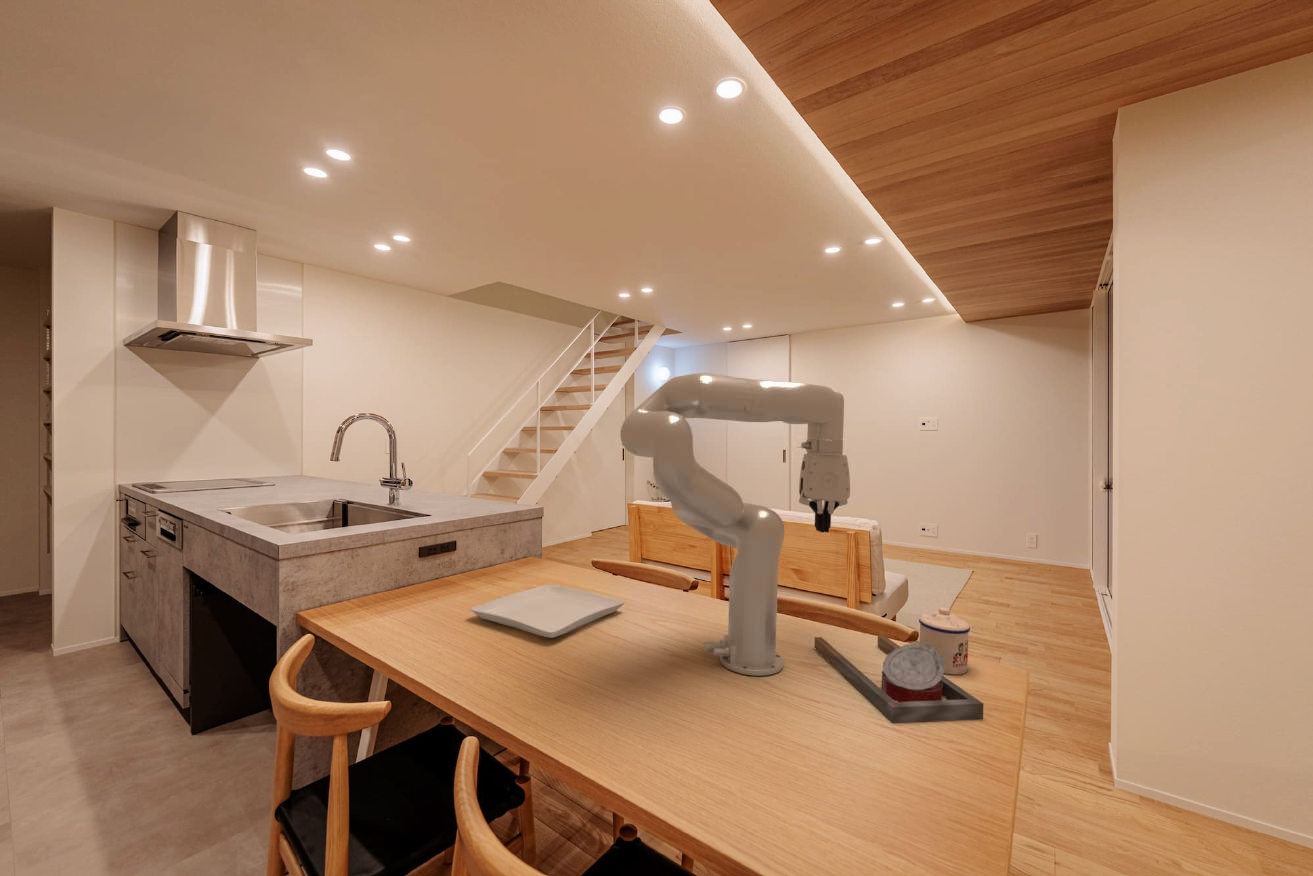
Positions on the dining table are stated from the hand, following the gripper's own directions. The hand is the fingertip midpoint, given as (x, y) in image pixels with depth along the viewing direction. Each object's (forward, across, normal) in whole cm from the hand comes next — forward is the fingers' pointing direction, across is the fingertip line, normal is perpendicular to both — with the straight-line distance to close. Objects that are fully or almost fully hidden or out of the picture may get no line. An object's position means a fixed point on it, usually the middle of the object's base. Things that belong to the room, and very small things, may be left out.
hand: (822, 531), depth 116 cm
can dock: (+25, +6, -17) cm, 31 cm away
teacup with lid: (+25, +22, -11) cm, 35 cm away
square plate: (+26, -60, +21) cm, 69 cm away
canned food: (+26, +7, -22) cm, 35 cm away
